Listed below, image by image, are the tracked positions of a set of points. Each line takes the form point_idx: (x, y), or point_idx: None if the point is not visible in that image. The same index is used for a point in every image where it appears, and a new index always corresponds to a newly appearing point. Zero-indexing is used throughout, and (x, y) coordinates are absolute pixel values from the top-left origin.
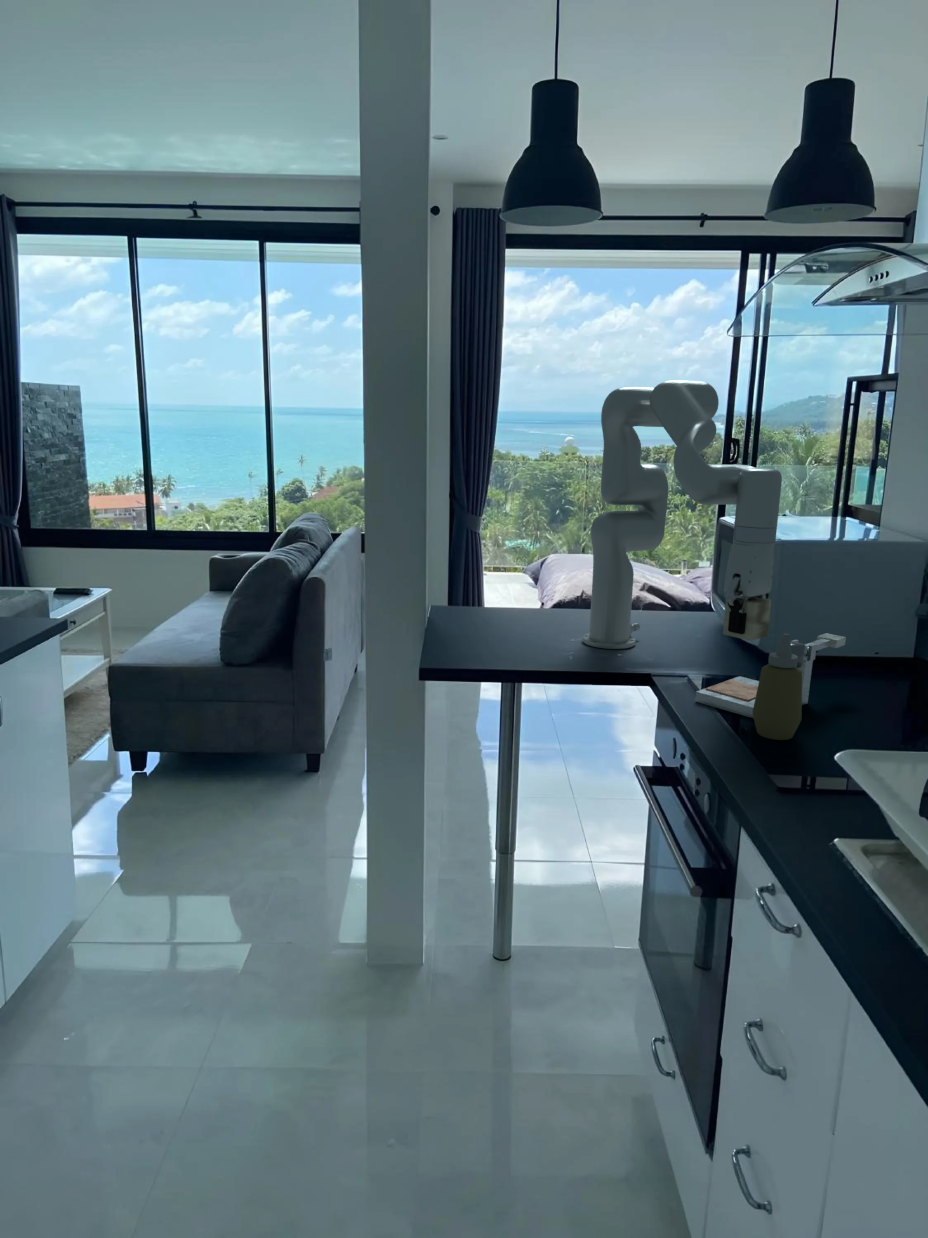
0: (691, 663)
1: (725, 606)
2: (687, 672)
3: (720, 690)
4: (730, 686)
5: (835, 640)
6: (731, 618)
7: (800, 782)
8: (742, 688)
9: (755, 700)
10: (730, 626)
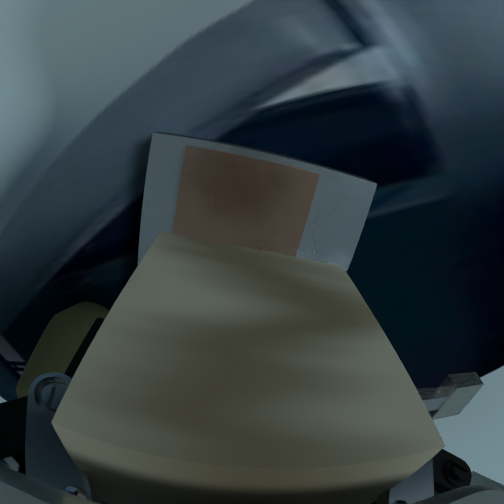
0: (461, 49)
1: (90, 350)
2: (396, 43)
3: (194, 186)
4: (250, 195)
5: (431, 417)
6: (77, 354)
7: (14, 361)
8: (253, 228)
9: (45, 332)
10: (98, 318)
